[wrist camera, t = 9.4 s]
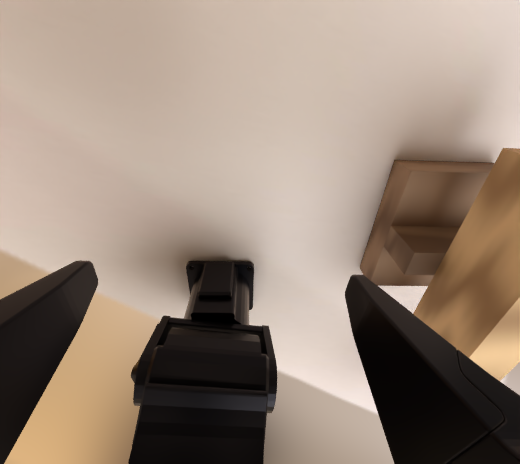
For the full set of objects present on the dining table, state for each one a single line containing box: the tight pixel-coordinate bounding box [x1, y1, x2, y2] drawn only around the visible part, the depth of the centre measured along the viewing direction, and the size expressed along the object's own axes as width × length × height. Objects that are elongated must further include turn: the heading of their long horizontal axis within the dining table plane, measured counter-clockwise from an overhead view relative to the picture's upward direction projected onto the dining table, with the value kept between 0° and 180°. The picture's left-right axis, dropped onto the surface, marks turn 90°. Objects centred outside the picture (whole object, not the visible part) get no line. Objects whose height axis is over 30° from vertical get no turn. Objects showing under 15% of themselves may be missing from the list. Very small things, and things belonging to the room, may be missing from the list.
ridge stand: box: [360, 160, 494, 286], centre depth 21 cm, size 11×8×6 cm
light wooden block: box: [413, 148, 520, 381], centre depth 16 cm, size 16×4×5 cm, turn 178°
